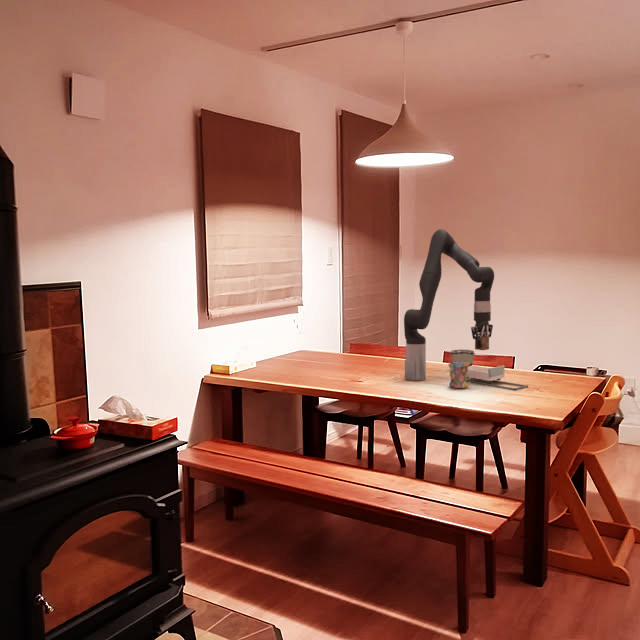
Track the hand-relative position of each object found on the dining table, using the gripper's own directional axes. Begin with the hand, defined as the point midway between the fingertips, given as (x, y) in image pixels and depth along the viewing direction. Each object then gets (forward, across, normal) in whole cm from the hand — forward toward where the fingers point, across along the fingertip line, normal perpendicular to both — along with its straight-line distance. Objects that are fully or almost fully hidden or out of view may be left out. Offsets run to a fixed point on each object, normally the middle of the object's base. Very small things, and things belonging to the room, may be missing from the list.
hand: (481, 347), depth 295 cm
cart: (+15, 0, 0) cm, 15 cm away
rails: (+16, 0, +5) cm, 17 cm away
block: (+1, 0, 0) cm, 1 cm away
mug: (+16, +18, 0) cm, 24 cm away
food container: (+16, -19, -26) cm, 36 cm away
